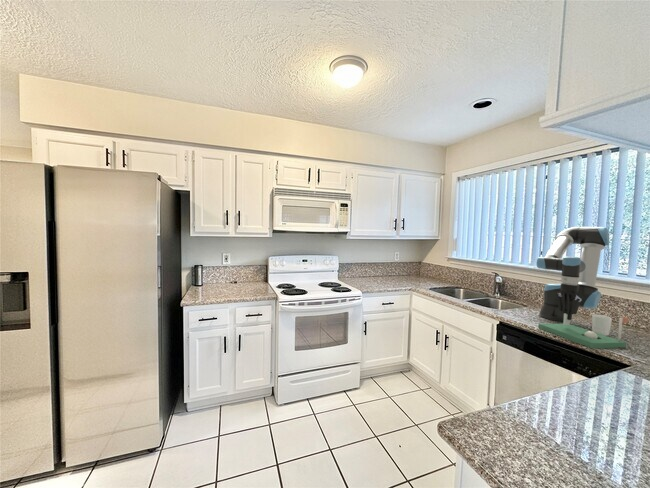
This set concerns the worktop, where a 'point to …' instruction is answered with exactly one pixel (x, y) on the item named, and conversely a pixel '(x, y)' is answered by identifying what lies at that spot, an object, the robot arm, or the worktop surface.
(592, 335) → the ball
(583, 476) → the worktop surface
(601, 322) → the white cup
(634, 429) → the worktop surface
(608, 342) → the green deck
